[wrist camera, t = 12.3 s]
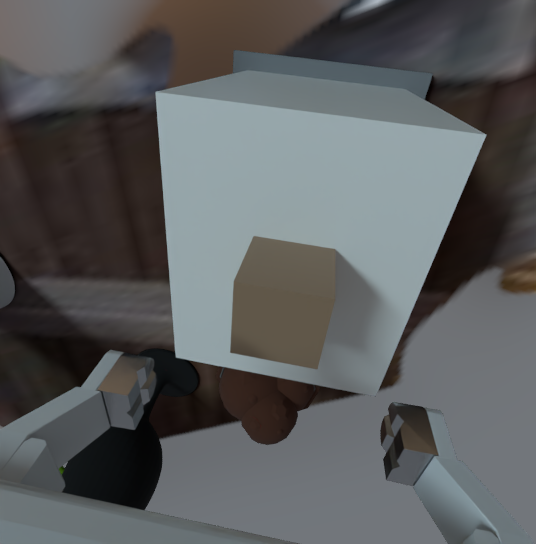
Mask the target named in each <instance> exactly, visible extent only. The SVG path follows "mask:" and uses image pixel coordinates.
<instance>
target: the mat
mask: <svg viewBox="0 0 536 544" xmlns="http://www.w3.org/2000/svg"><path fill="white" fill-rule="evenodd" d="M246 70H251V71H259V72H268V73H276V74H284V75H292V76H301V77H309V78H317V79H325V80H334V81H342V82H350V83H358V84H367V85H375V86H383V87H391V88H400V89H406V90H408V91H410V92H411V93H413V94H415V95H417V96H418V97H420V98H422V99H424V100H425V97H426V94H427V91H428V87H429V84H430V81H431V78H432V75H433V74H432V73H424V72H416V71H407V70H399V69H390V68H382V67H373V66H365V65H357V64H348V63H340V62H331V61H323V60H314V59H306V58H297V57H289V56H281V55H272V54H264V53H255V52H247V51H237V50H234V61H233V74H234V73H238V72H242V71H246Z"/></svg>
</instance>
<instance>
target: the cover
mask: <svg viewBox="0 0 536 544" xmlns="http://www.w3.org/2000/svg"><path fill="white" fill-rule="evenodd" d="M156 105H157V119H158V132H159V145H160V158H161V171H162V184H163V197H164V210H165V223H166V236H167V249H168V262H169V276H170V289H171V302H172V315H173V328H174V341H175V354H176V358H181V359H186V360H191V361H196V362H202V363H207V364H212V365H217V366H222V367H227V368H232V369H237V370H242V371H248V372H253V373H258V374H263V375H268V376H273V377H278V378H283V379H288V380H293V381H299V382H304V383H309V384H314V385H319V386H324V387H329V388H334V389H339V390H345V391H350V392H355V393H360V394H365V395H370V396H376V395H377V392H378V390H379V388H380V385H381V383H382V380H383V378H384V376H385V373H386V371H387V369H388V366H389V364H390V362H391V359H392V357H393V354H394V352H395V350H396V347H397V345H398V343H399V340H400V338H401V336H402V333H403V331H404V328H405V326H406V324H407V321H408V319H409V317H410V314H411V312H412V309H413V307H414V305H415V302H416V300H417V298H418V295H419V293H420V291H421V288H422V286H423V283H424V281H425V279H426V276H427V274H428V272H429V269H430V267H431V265H432V262H433V260H434V257H435V255H436V253H437V250H438V248H439V246H440V243H441V241H442V239H443V236H444V234H445V231H446V229H447V227H448V224H449V222H450V220H451V217H452V215H453V213H454V210H455V208H456V205H457V203H458V201H459V198H460V196H461V194H462V191H463V189H464V186H465V184H466V182H467V179H468V177H469V175H470V172H471V170H472V168H473V165H474V163H475V160H476V158H477V156H478V153H479V151H480V149H481V146H482V144H483V142H484V139H485V137H486V134H484V133H482V132H481V131H479V130H477V129H475V128H473V127H472V126H470V125H468V124H466V123H465V122H463V121H461V120H459V119H457V118H456V117H454V116H452V115H450V114H449V113H447V112H445V111H443V110H441V109H440V108H438V107H436V106H434V105H433V104H431V103H429V102H427V101H425V100H424V99H422V98H420V97H418V96H417V95H415V94H413V93H411V92H410V91H408V90H406V89H400V88H391V87H383V86H375V85H367V84H358V83H350V82H342V81H334V80H325V79H317V78H309V77H301V76H292V75H284V74H276V73H268V72H259V71H251V70H246V71H242V72H238V73H234V74H229V75H225V76H222V77H217V78H212V79H208V80H204V81H200V82H195V83H191V84H187V85H183V86H178V87H174V88H170V89H166V90H161V91H157V92H156Z"/></svg>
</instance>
